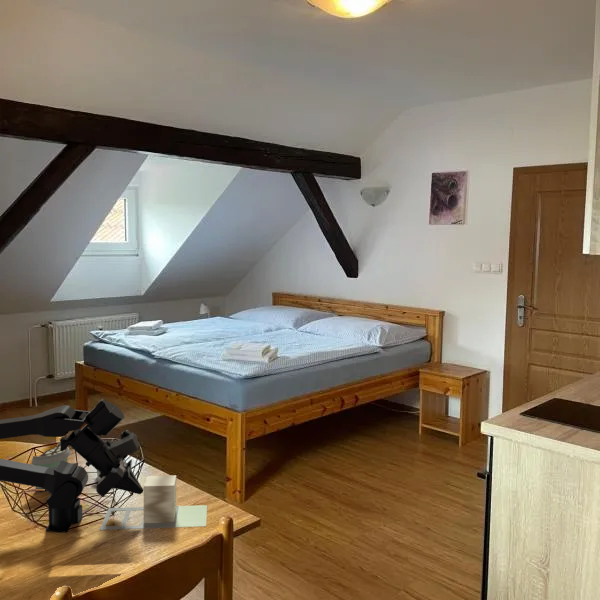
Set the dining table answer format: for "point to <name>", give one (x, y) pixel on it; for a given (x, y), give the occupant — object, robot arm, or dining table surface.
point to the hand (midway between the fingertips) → (141, 492)
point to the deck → (183, 518)
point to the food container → (51, 458)
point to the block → (159, 499)
